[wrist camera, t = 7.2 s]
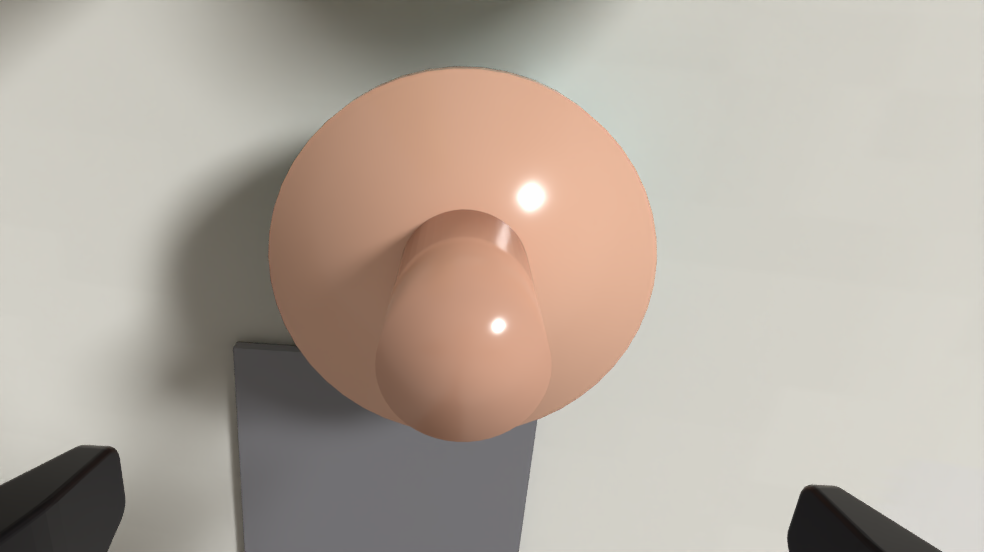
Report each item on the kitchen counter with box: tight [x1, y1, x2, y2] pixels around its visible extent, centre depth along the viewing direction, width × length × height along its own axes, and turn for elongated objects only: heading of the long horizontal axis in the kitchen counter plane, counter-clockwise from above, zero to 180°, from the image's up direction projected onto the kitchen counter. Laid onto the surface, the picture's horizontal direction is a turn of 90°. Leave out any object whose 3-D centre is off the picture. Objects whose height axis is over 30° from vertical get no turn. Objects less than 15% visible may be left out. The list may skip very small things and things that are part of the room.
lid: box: [268, 66, 657, 442], centre depth 14 cm, size 9×9×6 cm
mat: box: [233, 342, 537, 552], centre depth 24 cm, size 12×10×1 cm
